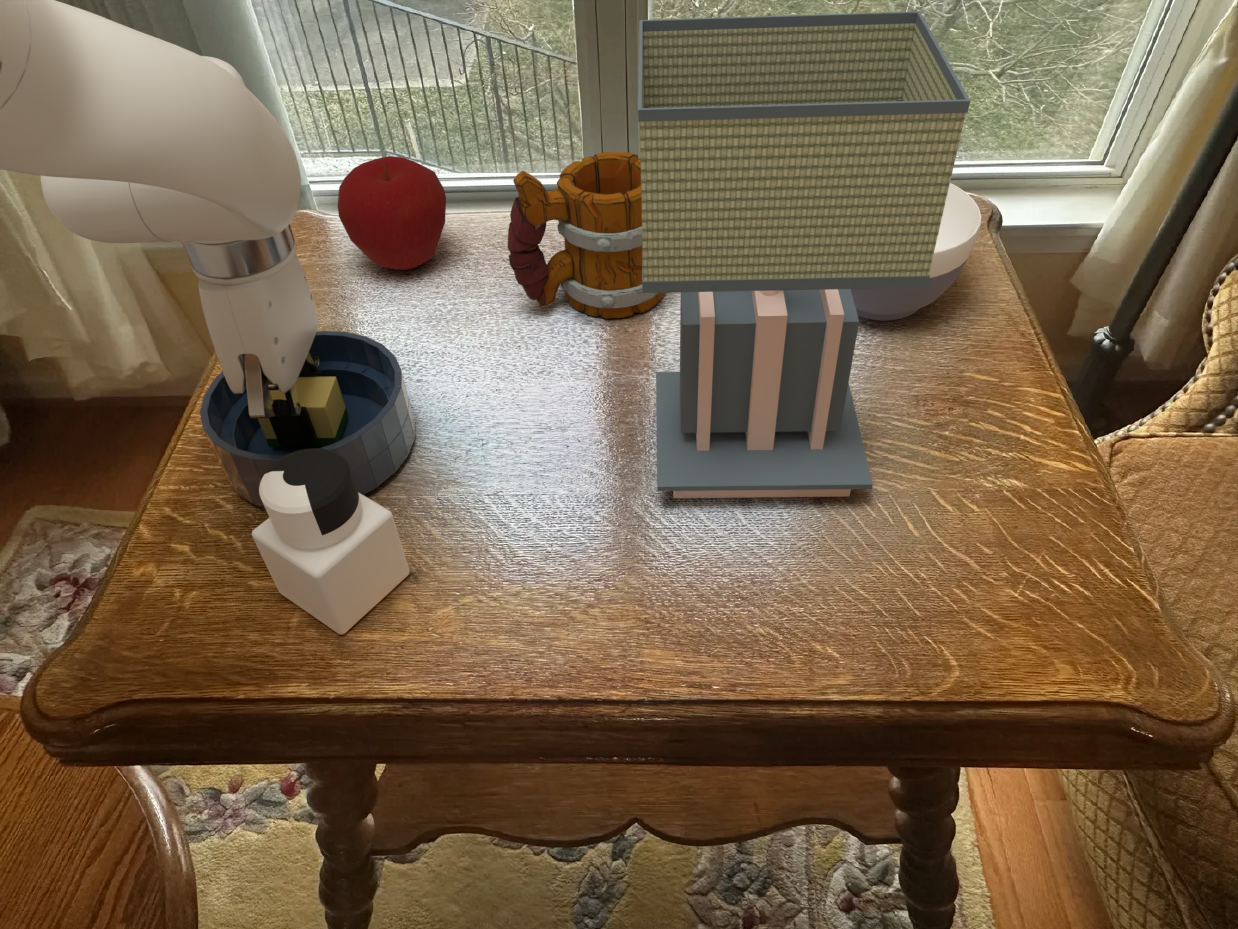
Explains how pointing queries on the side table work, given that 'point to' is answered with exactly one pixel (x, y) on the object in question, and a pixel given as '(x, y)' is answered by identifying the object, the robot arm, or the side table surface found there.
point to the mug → (584, 237)
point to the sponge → (315, 409)
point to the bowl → (945, 268)
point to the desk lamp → (783, 230)
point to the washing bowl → (369, 434)
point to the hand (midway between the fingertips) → (306, 423)
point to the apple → (393, 211)
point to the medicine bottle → (327, 539)
